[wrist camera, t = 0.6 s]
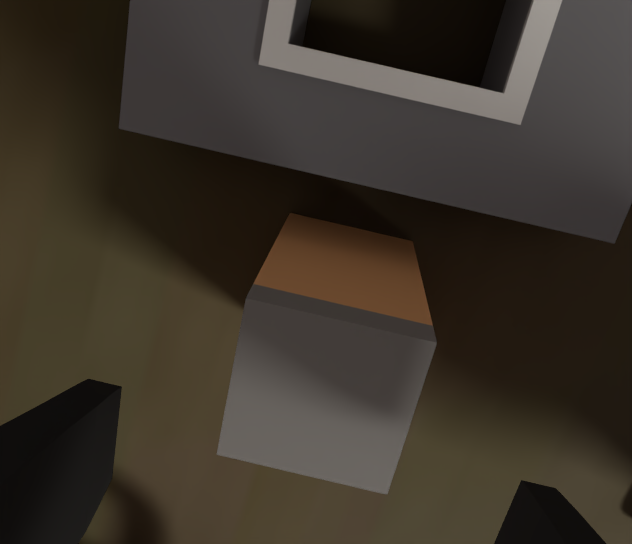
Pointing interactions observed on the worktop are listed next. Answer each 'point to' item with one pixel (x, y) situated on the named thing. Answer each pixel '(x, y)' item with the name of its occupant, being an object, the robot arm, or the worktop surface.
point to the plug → (330, 355)
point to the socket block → (402, 106)
